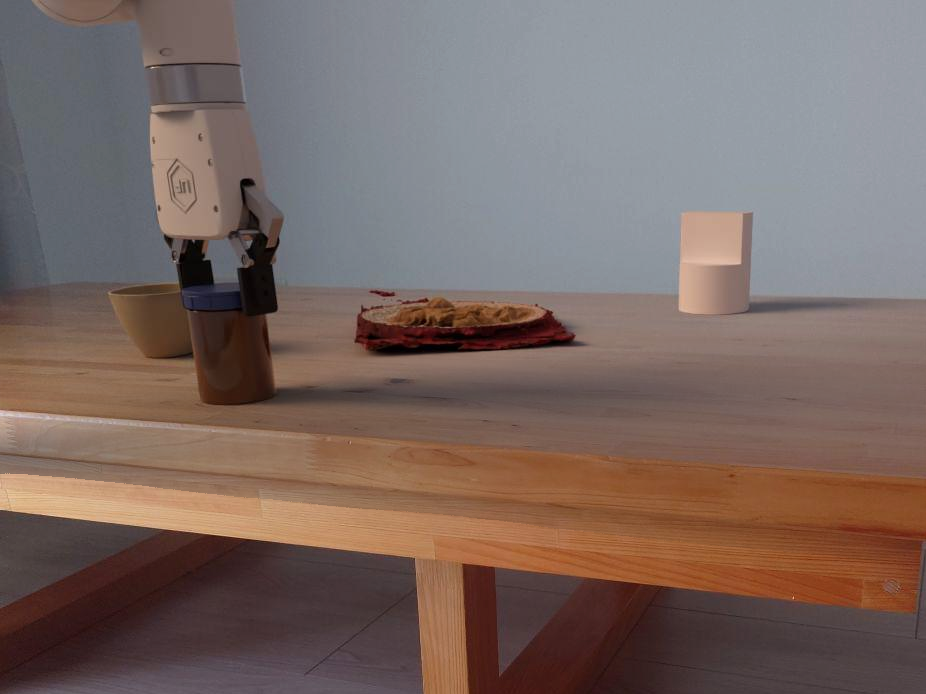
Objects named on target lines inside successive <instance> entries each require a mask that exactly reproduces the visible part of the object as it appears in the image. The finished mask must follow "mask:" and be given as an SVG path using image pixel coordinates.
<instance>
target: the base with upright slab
mask: <svg viewBox="0 0 926 694" xmlns="http://www.w3.org/2000/svg"><path fill="white" fill-rule="evenodd" d="M753 222H754V211H714V210H713V211H711V210H710V211H709V210H708V211H706V210H705V211H703V210H699V211H697V210H694V211H693V210H691V211H690V210H689V211H684V212H681V213H680V254H679V255H680V257H679V260H680V261H679V271H678V272H679V279H678V311H679V312H682V313H685V314H693V315H704V316H705V315H706V316H709V315H710V316H712V315H713V316H717V315H734V314H742V313H746V312H747V311H749V310H750V292H751V291H750V289H751V270H752V269H751V268H752V248H753V247H752V244H753Z"/></svg>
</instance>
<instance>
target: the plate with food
mask: <svg viewBox="0 0 926 694" xmlns="http://www.w3.org/2000/svg"><path fill="white" fill-rule="evenodd" d="M368 293H370V294H374V295H375V294H376V295H378V296H381V297H384V298H383V299H382V300H383V301H385V300H386V298H389V297H395V296H396V293H395V291H391V292H389V291H384V290H377V289H375V290H373V289H371V290H369V291H368ZM390 301H393V299H390ZM396 302H401V303H399V304H389V305H384V306H383V304H381V305H377V306H374V305H371V306H370V308H366V307H364V305H363V304H361V305H360V308H361V310H360V312H359V313H358V314H357V315H356V332H355V338H354V340H353V341H354V344H360V345H361V346H362V347H363V348H364V350H365V351H368V350H373V351H375V350H380V349H387V348H388V347H392V346H397V345H401V346H403V347H405V348H418V347H421V345H422V347H423V348H424V347H425V346H424V345H445V344H448V345H451V344H462V345H461V346H459V347H458V348H457V349H458V350H461V349H463V350H467V349H468V350H470V349H471V350H483V349H486V350H488V349H489V350H497V349H499V350H501V349H507V350H508V349H509V348H521V347H530V345H531V346H540V345H546V344H549V343H551V342H552V341H554V342H557V341H574V340H575V339H576V336H577V334H574V333H573V332H569V334H568V333H567V329H566V326H565V325H562V322H561V321H558V320H557V319H555V316H554V315H553V314H554V311H552V310H549V309H547V308H544V307H543V306H539V305H538V303H535V304H534V305H533V304H526V303H525V304H522V303H516V302H515V303H511V302H505V301H502V302H501V301H498V302H495V301H485V300H484V301H473V300H472V301H471V300H464V301H462V300H457V301H454V300H452V301H449V300H447V299H446V298H444V297H441V296H437V297H433V298H432V299H430V300H429V298H427V297H424V298H420V299H418V300H412V301H410V300H409V299H407V300H406V301H403V300H401V299H396Z"/></svg>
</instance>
